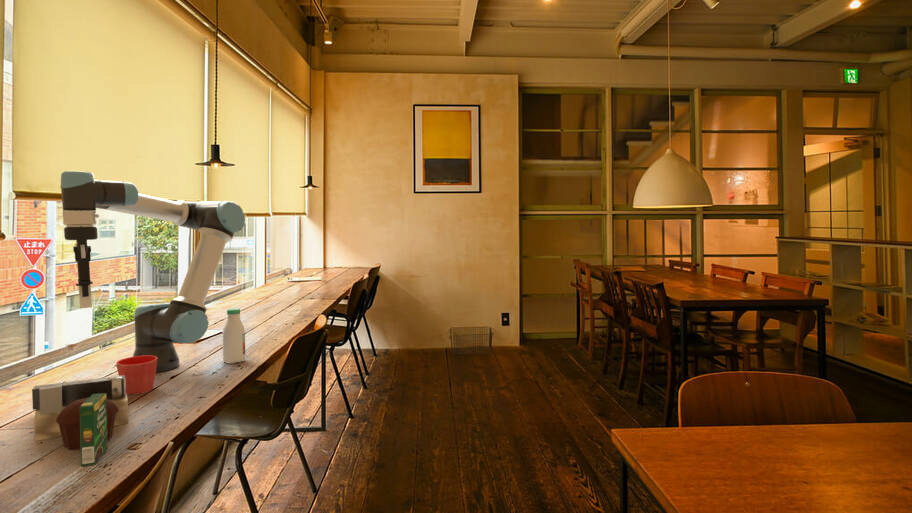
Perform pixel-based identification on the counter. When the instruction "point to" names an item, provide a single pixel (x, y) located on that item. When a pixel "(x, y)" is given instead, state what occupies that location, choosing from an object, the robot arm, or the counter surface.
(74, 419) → the muffin
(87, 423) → the coffee box
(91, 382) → the folding leg
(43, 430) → the stool seat
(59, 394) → the block
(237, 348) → the milk bottle
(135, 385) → the flower pot
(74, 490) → the counter surface
